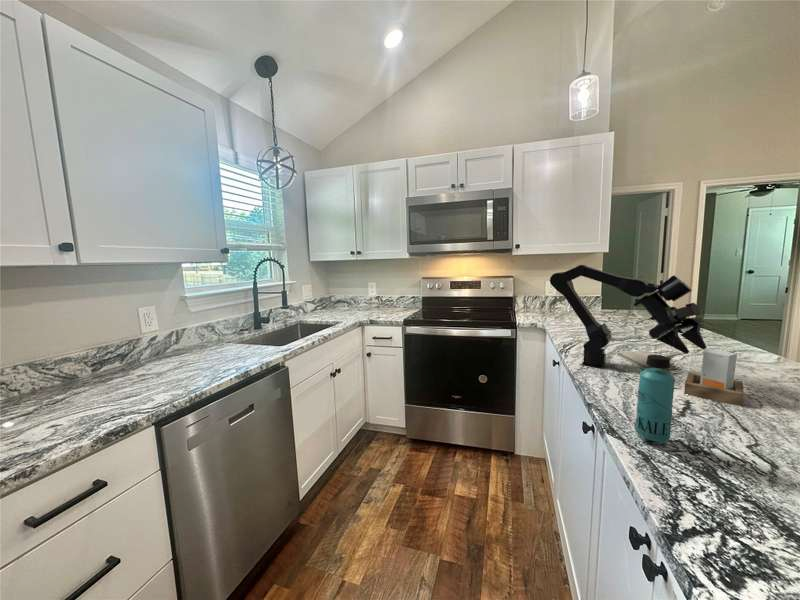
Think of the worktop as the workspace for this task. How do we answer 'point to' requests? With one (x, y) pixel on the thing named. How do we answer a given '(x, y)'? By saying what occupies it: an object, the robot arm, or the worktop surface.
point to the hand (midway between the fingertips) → (696, 350)
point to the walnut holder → (714, 390)
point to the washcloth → (641, 358)
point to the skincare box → (718, 369)
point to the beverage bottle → (655, 400)
